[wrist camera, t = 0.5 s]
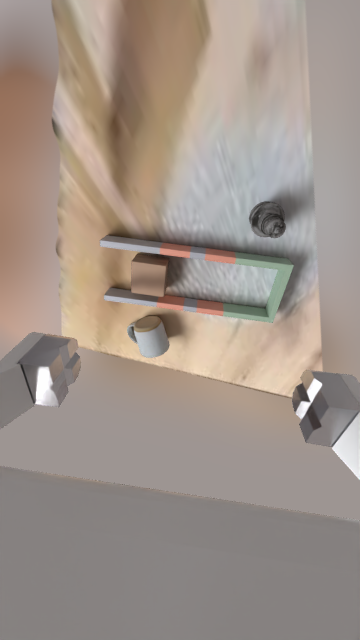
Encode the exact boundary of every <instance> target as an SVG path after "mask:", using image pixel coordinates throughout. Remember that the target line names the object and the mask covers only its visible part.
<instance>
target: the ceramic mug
mask: <svg viewBox="0 0 360 640" xmlns="http://www.w3.org/2000/svg"><path fill="white" fill-rule="evenodd" d="M132 326H134V334H135V335H134V334H133V331H132ZM127 332H128V335H129V337H130V338H131V340H132V341H134V342H135V343H137V344H138V346H139V350H140V353H141V354H142V355H143V356H144V357H148V358H153V357H157V356H160V355H162V354H164V353H165V352H166V351H167V350H168V348H169V341H168V338H167V334H166V332H165V328H164V325H163V322H162V321H161V319H160V318H159V317H156V316H148V317H144V318H142V319H140V320H138V321H137V322H135V323H132V324H130V325H129V326H128V328H127Z"/></svg>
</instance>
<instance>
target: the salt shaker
mask: <svg viewBox="0 0 360 640" xmlns="http://www.w3.org/2000/svg"><path fill="white" fill-rule="evenodd" d="M249 220H250V224H251V228H252V231H253V232H254V233H255V234H256V235H258V236H260V237H271V238H278V237H280V236H281V235H282V234H283V233H284V232H285V229H286V226H285V223H284V211H283V209H282V208H281V207H280V206H279V205H278V204H275V203H270V202H261V203H259V204H257V205H256V206H255V207H254V208H253V209H252V211H251V213H250V217H249Z"/></svg>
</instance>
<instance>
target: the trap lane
mask: <svg viewBox="0 0 360 640" xmlns="http://www.w3.org/2000/svg"><path fill="white" fill-rule="evenodd" d="M100 246H101V247H109V248H117V249H124V250H132V251H140V252H147V253H155V254H163V255H170V256H178V257H186V258H193V259H201V260H209V261H216V262H224V263H232V264H239V265H247V266H255V267H262V268H270V269H278V272H277V275H276V278H275V281H274V284H273V287H272V290H271V293H270V296H269V299H268V302H267V305H266V308H258V307H250V306H243V305H235V304H228V303H220V302H213V301H206V300H198V299H191V298H183V297H176V296H168V295H164V297H159V296H152V295H145V294H138V293H131V290H124V289H116V288H109V290H108V291H107V292H106V293H105V295H104V300H109V301H116V302H123V303H131V304H138V305H145V306H153V307H160V308H167V309H175V310H182V311H190V312H197V313H204V314H212V315H219V316H226V317H234V318H241V319H248V320H256V321H263V322H270V323H273V321H274V318H275V315H276V312H277V310H278V307H279V304H280V302H281V299H282V296H283V294H284V291H285V288H286V285H287V283H288V280H289V277H290V275H291V272H292V269H293V267H294V265H293V264H292V263H291V261H290V260H289V259H286V258H279V257H271V256H263V255H255V254H248V253H240V252H232V251H224V250H217V249H209V248H201V247H193V246H186V245H178V244H170V243H163V242H155V241H147V240H139V239H132V238H124V237H116V236H108V235H106V236H105V237H104V238H102V239H101V240H100Z"/></svg>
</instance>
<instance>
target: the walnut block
mask: <svg viewBox="0 0 360 640" xmlns="http://www.w3.org/2000/svg"><path fill="white" fill-rule="evenodd" d="M168 266H169V258H163V257H156V256H148V255H141V254H137V255H136V256H135V258H134V259H133V260H132V261H131V293H138V294H145V295H152V296H159V297H164V294H165V291H166V288H167V277H168Z"/></svg>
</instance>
